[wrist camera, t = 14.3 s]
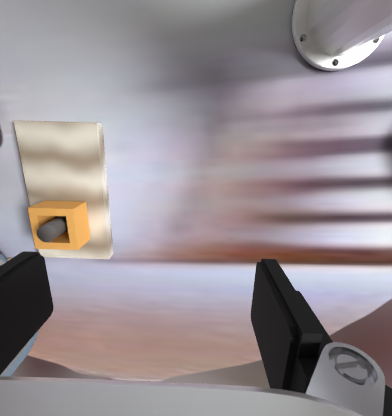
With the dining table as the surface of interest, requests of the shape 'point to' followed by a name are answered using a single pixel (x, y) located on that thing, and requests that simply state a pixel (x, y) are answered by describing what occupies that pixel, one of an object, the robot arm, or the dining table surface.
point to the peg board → (67, 179)
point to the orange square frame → (75, 223)
